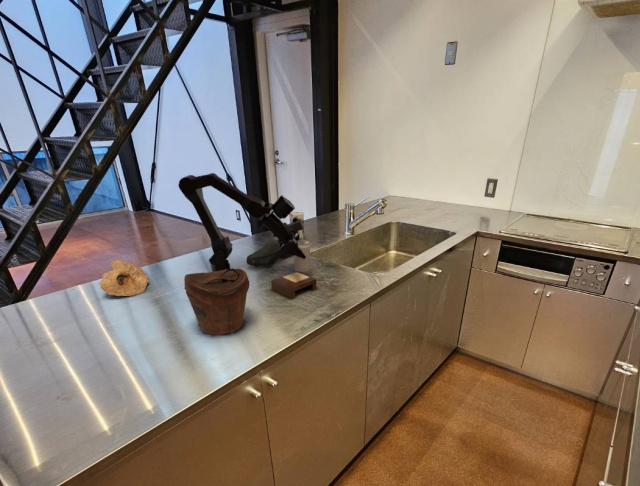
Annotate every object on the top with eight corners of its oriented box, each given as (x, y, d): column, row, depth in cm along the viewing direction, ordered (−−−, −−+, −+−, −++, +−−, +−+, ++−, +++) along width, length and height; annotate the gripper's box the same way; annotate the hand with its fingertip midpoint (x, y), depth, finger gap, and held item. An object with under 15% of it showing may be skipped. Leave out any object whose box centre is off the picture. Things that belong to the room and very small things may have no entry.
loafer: (241, 268, 161) (239, 245, 156) (281, 250, 184) (280, 229, 179) (260, 273, 157) (259, 249, 152) (298, 253, 180) (298, 232, 175)
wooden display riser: (290, 298, 136) (290, 288, 134) (271, 290, 142) (270, 279, 140) (316, 288, 144) (316, 278, 142) (297, 280, 151) (296, 270, 149)
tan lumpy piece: (143, 310, 139) (143, 296, 134) (98, 305, 134) (96, 290, 128) (151, 277, 150) (151, 262, 145) (109, 271, 145) (108, 256, 140)
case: (263, 314, 125) (259, 263, 116) (233, 345, 108) (225, 288, 99) (215, 307, 129) (208, 257, 120) (179, 335, 112) (167, 279, 103)
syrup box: (294, 242, 196) (293, 214, 189) (290, 239, 200) (289, 211, 193) (304, 240, 198) (303, 213, 191) (299, 237, 203) (299, 210, 196)
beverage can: (295, 274, 150) (295, 244, 144) (293, 268, 155) (292, 239, 149) (311, 273, 151) (311, 244, 145) (308, 267, 157) (308, 239, 151)
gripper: (289, 218, 134) (319, 249, 139) (293, 207, 150) (320, 235, 156) (267, 239, 137) (298, 268, 143) (274, 226, 153) (301, 252, 159)
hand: (305, 255), depth 150 cm, fingers closed on beverage can, 6 cm apart
